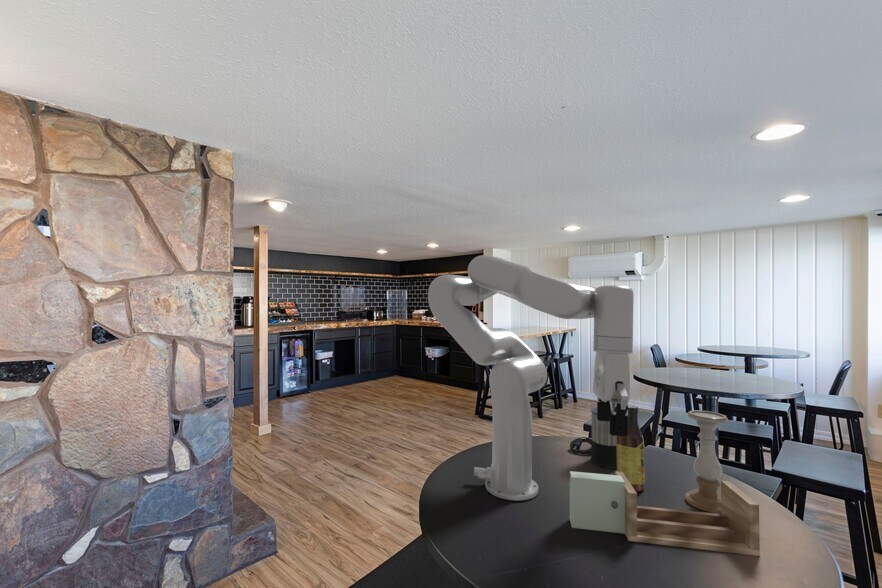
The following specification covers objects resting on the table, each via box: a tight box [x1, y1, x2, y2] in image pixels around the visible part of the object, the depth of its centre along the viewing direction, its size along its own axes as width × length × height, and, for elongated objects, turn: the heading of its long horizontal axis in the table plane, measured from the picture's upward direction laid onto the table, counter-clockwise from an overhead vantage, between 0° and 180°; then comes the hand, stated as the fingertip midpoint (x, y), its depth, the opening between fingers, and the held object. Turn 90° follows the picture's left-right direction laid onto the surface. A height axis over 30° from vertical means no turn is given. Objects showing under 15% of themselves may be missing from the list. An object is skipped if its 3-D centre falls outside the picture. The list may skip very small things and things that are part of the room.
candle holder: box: [685, 409, 729, 514], centre depth 89 cm, size 9×9×20 cm
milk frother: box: [569, 406, 617, 469], centre depth 117 cm, size 14×16×15 cm
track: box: [614, 470, 761, 557], centre depth 77 cm, size 22×10×9 cm, turn 79°
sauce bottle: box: [616, 403, 646, 492], centre depth 98 cm, size 7×6×20 cm
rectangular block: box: [569, 470, 626, 535], centre depth 79 cm, size 10×4×10 cm, turn 79°
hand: (611, 427), depth 81 cm, fingers open, 9 cm apart
